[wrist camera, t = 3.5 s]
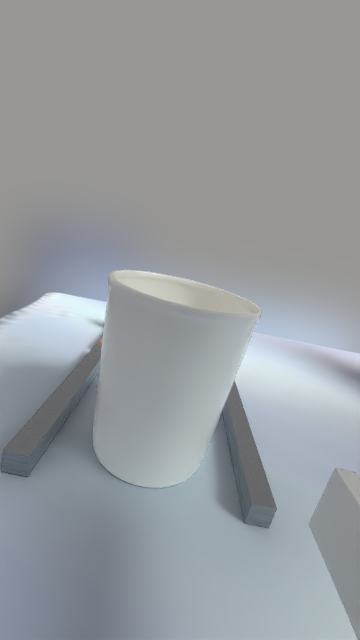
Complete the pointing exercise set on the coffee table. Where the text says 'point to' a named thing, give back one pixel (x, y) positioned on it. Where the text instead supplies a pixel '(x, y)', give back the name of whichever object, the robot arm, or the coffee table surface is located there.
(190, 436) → the candle holder
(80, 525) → the coffee table surface
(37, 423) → the guide rails
